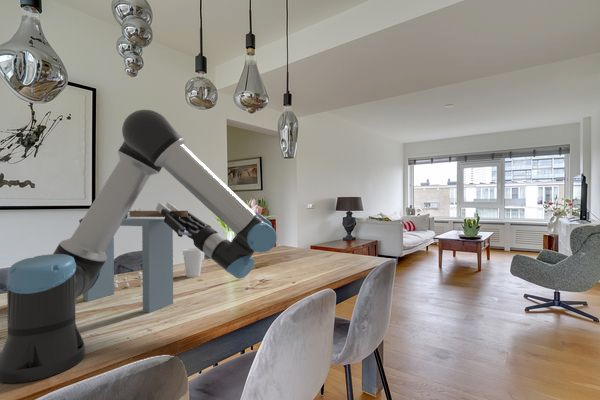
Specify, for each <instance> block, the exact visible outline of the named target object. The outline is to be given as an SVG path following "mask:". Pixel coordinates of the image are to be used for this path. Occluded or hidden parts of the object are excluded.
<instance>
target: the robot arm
mask: <svg viewBox="0 0 600 400" xmlns="http://www.w3.org/2000/svg"><path fill="white" fill-rule="evenodd" d="M121 132H122V137H123V143H122V144H121V145H120V146H119V149H118V151H117V154H118V157H119V160H118V163H117V164H116V165H115V167H114V169H113V170H112V171H111V173H110V175H109V176H108V178H107V180H106V181H105V182H104V184H103V186H102V188H101V190H100V191H99V192H98V194H97V196H96V197H95V199H94V200H93V202H92V203H91V204H92V205H91V204H90V206H91V207H89V209H88V210H87V212H86V213H85V215H84V216H83V220H82V221H81V223H80V222H79V224H78V226H77V228H76V229H75V231H74V232H73V234H72V236H71V237H69V238H67V239H63V240H61V241H60V242H59V243H58V245H57V247H56V249H55V250H54V251H53V253H51V254H43V255H42V254H41V255H35V256H33V257H29V258H28V257H27V258H24V259H21V260H18V261H17V262H15V263H13V264H12V265H11V266H10V267H9V268H8V270H7V278H6V283H5V285H6V291H7V292H6V293H7V295H6V296H7V297H6V299H7V300H6V301H7V304H6V305H7V337H6V341H5V343H4V345H3V348H2V350H1V353H0V381H1V383H4V382H7V383H6V384H16V383H15V382H20V383H21V382H22V383H28V382H33V381H38V380H41V379H46V378H48V377H52V376H54V375H58V374H60V373H62V372H64V371H67V370H69V369H71V368H73V367H74V366H76V365H77V364H78V363H80V362H81V361H83V359H84V358H85V354H86V351H85V350H86V347H85V346H86V345H85V342H84V340H83V338H82V336H81V333H80V331H79V328H78V326H77V322H76V300H77V298H79V297H81V296H83V294H84V293H85V292H87V291H88V290H90V288H92V287H93V286H94V285H95V283H96V282H97V280H98V278H99V275H100V271H101V268H102V266H103V265H104V263H105V261H106V260H107V256H106V254H105V250H106V248H107V246H108V245H109V243H110V242H111V240H112V238H113V237H115V235H116V233H117V231H118V229H120V227H121V226H120V225H121V223H122V222H123V220H124V218H125V217H126V215H127V214H128V215H129V213H130V211H131V208H132V206H133V205H134V203H135V202H136V200H137V198H138V197H139V195H140V194H141V192H142V191H143V189H144V187H145V186H146V183H148V180H149V179H150V177H152V176H153V175H158V174H160V172H161V170H162V168H163V169H165V171H167V172H168V173H169V174H170V175H171V176H172V177H173V178H174V179H176V181H177V182H179V184H181V185H182V186H183V187H184V188H185V189H186V190H187V191H188V192H189V193H191V194H192V195H193V196H194V197H195V199H197V200H198V201H200V202H201V204H202V205H204V206H205V207H206V208H207V209H208V210H209V211H211V212H212V214H213V215H215V216H216V217H217V218H218V219H219V220H220V221H221V222H223V223H224V224H225V225H226V226H227V227H228V228H229V229H230V230H231V231H232V232H234V234H236V235H235V236H234V237H233V239H232V240H231V241H230V240H229V239H228V238H226V237H225V236H224V235H222V234H221V233H220V232H218V231H216V230H215V229H214V228H212V226H211V225H209V224H207V223H206V222H204V221H202V220H201V219H199V218H198V217H196V216H195V215H193V214H192V213H191V212H188V217H177V216H176V215H174V214H173V211H181V210H180V209H179V208H178V207H177V206H175V205H174V204H172V203H171V202H169V201H168V202H166V205H164V204H163V202H161V201H159V202H157V206H156V208H155V211H159V212H160V213H161V214H162V215H163V216H165V217H164V218H163V219H164V222H165V223H166V224H167V225H168V226H170V227H171V228H172V229H173V231H174V232H175V233H176V234H177V236H178V237H180V238H182V237H183V236H187V237H188V238H190V239H191V240H192V241H193V245H194V247H195V248H198V249H199V250H201V251H202V252H203V254H205V255H206V256H207V257H209V258H210V259H211V260H212V261H214V262H215V263H216V264H217V265H218V266H220V267H221V268H222V269H223V270H225V271H226V272H227V273H229V274H230V275H232V276H233V277H234V278H236V279H237V280H238V279H239V280H241V279H244V278H246V277H247V276H248V275H249V274H250V273H251V271H252V270H253V268H254V266H255V263H256V262H255V258H254V257H253V254H254V253H255V252H257V253H267V252H269V251H270V250H272V249H274V247H275V245H276V243H277V240H278V239H277V238H278V236H277V231H276V230H275V228H273V224H272V222H271V221H270V220H269V219H267V218H266V217H265V216H264V215H262V214H260V213H259V212H257V211H256V212H255V211H254V210H253V209H252V208H251V207H250V206H249V205H248V204H247V203H246V202H245V201H244V200H243V199H241V197H239V196H238V194H236V193H235V192H234V191H233V190H232V189H231V187H229V186H228V185H227V184H226V183H225V182H224V181H222V179H221V178H220V177H218V176H217V175H216V174H215V173H214V172H213V171H212V170H211V169H210V167H208V166H207V165H206V164H205V163H204V162H203V161H202V160H201V159H200V158H199V157H197V156H196V155H195V153H193V152H192V151H191V149H189V148H188V147H187V146H186V145H185V139H184V138H183V137H182V135H180V134H179V133H178V132H177V131H176V129H174V127H173V126H172V125H171V123H170V122H169V121H168V120H167V118H166V117H164V116H163V115H162V114H161V113H159V112H157V111H154V110H151V109H139V110H135V111H133V112H131V113H130V114H129V115H128V116H126V118H125V119H124V121H123V123H122V129H121ZM20 383H19V384H20Z"/></svg>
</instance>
